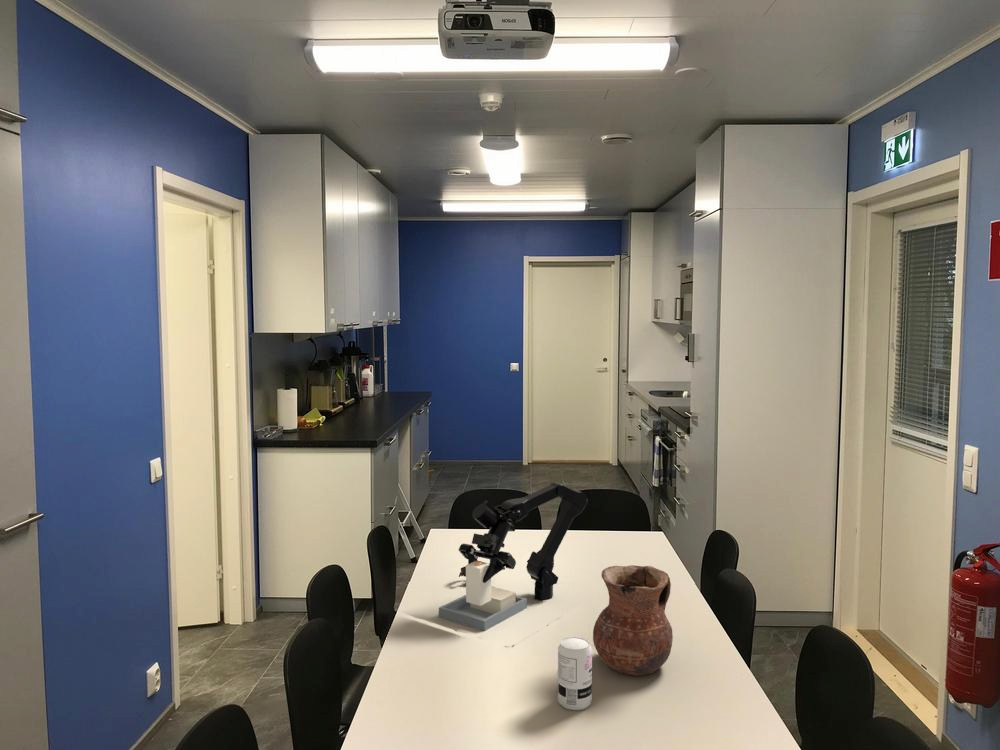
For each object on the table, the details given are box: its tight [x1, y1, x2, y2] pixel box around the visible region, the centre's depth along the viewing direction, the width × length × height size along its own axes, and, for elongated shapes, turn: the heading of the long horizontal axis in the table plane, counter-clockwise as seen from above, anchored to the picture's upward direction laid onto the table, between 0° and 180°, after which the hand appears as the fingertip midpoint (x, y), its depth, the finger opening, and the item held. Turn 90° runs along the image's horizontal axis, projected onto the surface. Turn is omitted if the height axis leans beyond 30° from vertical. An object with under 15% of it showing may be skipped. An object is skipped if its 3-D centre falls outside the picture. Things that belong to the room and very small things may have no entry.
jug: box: [592, 565, 674, 677], centre depth 201 cm, size 22×21×25 cm
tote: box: [438, 594, 528, 632], centre depth 235 cm, size 22×18×4 cm
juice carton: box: [465, 560, 492, 606], centre depth 229 cm, size 6×6×12 cm
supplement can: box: [557, 636, 593, 711], centre depth 180 cm, size 8×8×15 cm
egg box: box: [471, 585, 517, 614], centre depth 239 cm, size 8×12×5 cm
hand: (475, 580), depth 228 cm, fingers closed on juice carton, 5 cm apart
